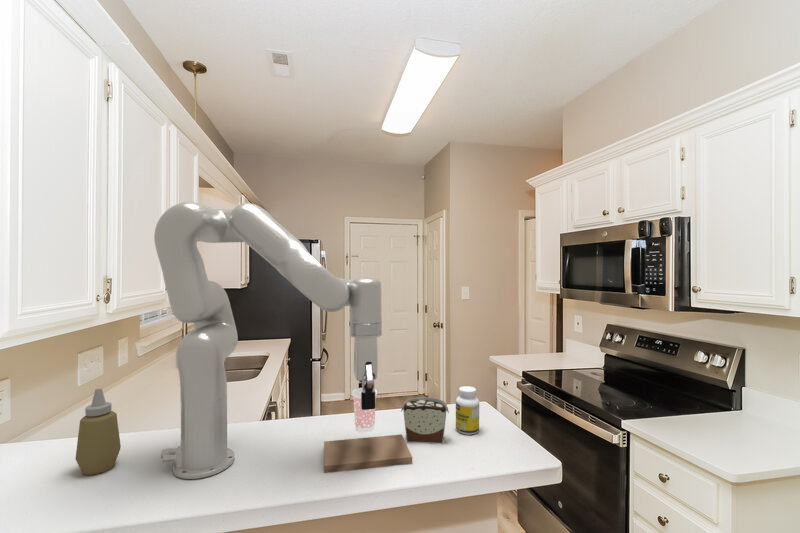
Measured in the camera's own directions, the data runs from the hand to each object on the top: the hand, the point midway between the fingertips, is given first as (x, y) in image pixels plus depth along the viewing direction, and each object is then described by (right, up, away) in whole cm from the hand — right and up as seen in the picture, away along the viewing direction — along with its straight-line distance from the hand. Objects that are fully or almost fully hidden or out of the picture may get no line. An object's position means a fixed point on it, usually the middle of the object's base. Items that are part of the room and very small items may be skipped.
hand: (366, 403), depth 92 cm
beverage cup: (0, -6, 0) cm, 6 cm away
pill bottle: (+27, -13, +14) cm, 33 cm away
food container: (+15, -13, +9) cm, 22 cm away
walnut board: (0, -13, 0) cm, 13 cm away
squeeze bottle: (-60, -13, -6) cm, 62 cm away
